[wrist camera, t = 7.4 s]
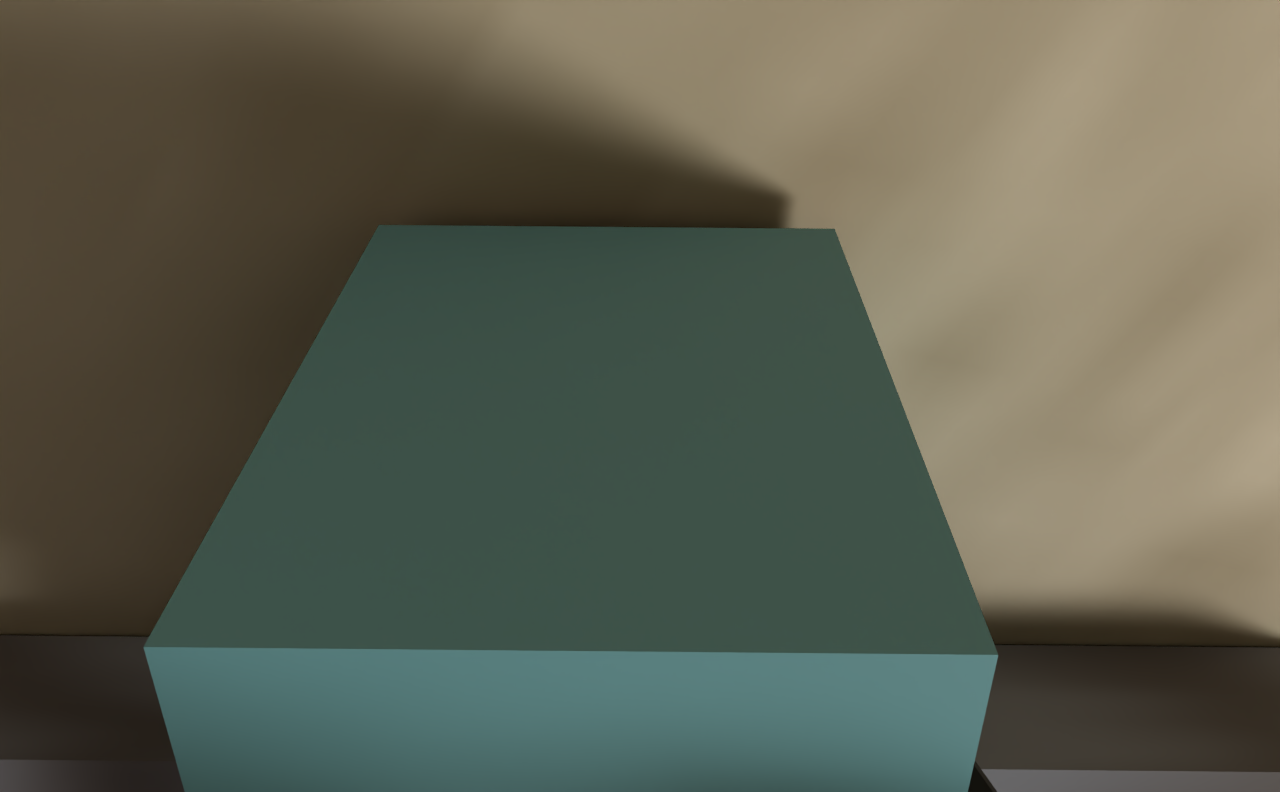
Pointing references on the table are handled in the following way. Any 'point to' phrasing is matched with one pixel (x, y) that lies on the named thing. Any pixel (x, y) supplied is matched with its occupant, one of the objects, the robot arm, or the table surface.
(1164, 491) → the table surface
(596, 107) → the table surface
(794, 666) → the teal rectangular block
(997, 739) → the brown wooden ledge block
